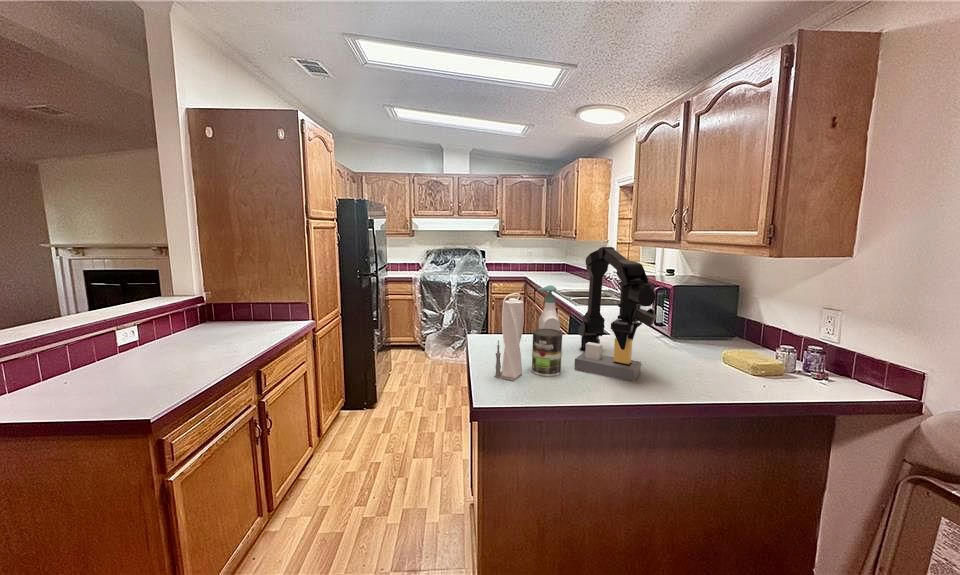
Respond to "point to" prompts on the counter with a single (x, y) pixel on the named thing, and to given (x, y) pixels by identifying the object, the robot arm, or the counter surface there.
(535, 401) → the counter surface
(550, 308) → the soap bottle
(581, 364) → the block
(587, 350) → the white rectangular block
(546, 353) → the coffee can
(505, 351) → the skyscraper
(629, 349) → the amber plug
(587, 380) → the counter surface
